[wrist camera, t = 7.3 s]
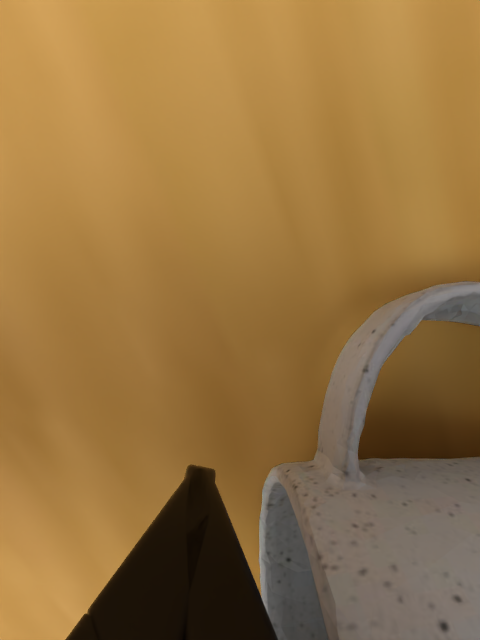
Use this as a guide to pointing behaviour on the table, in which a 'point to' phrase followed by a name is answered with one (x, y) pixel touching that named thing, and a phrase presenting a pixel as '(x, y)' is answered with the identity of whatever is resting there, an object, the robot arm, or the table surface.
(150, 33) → the table surface
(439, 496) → the ceramic mug
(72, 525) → the table surface
